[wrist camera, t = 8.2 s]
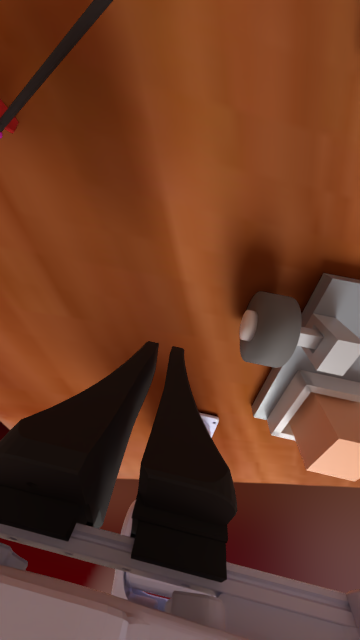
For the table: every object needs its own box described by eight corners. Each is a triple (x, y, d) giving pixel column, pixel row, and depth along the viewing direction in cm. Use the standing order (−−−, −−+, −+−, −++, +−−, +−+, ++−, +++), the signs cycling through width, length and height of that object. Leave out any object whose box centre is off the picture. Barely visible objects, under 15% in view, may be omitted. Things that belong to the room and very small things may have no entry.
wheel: (290, 346, 20) (316, 392, 15) (231, 334, 21) (237, 375, 16) (319, 293, 17) (365, 329, 12) (250, 280, 18) (266, 309, 12)
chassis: (335, 425, 26) (362, 474, 21) (251, 406, 26) (260, 450, 21) (457, 298, 16) (557, 334, 12) (323, 273, 17) (367, 298, 12)
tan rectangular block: (323, 421, 23) (354, 481, 18) (285, 413, 24) (306, 469, 18) (350, 390, 21) (396, 451, 15) (307, 381, 21) (339, 438, 16)
